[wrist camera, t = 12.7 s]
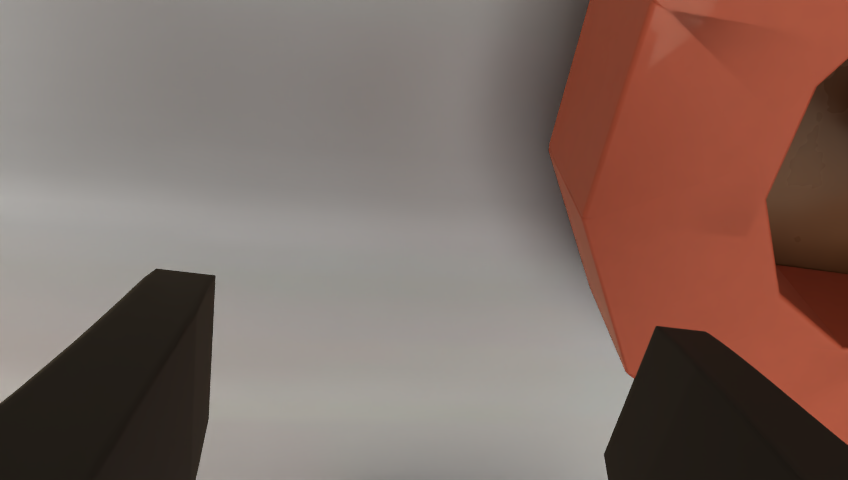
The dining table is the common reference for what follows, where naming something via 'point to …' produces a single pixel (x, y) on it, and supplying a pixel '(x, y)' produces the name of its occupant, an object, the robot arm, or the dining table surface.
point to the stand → (815, 185)
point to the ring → (702, 181)
